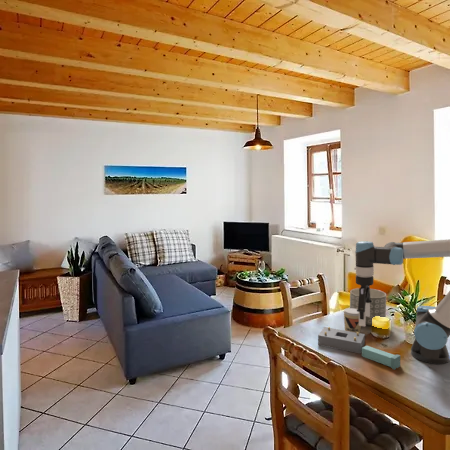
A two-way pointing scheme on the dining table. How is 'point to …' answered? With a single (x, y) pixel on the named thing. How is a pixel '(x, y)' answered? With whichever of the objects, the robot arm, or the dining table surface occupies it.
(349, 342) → the block
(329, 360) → the dining table surface
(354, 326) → the coffee cup
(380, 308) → the planter
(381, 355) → the plug
